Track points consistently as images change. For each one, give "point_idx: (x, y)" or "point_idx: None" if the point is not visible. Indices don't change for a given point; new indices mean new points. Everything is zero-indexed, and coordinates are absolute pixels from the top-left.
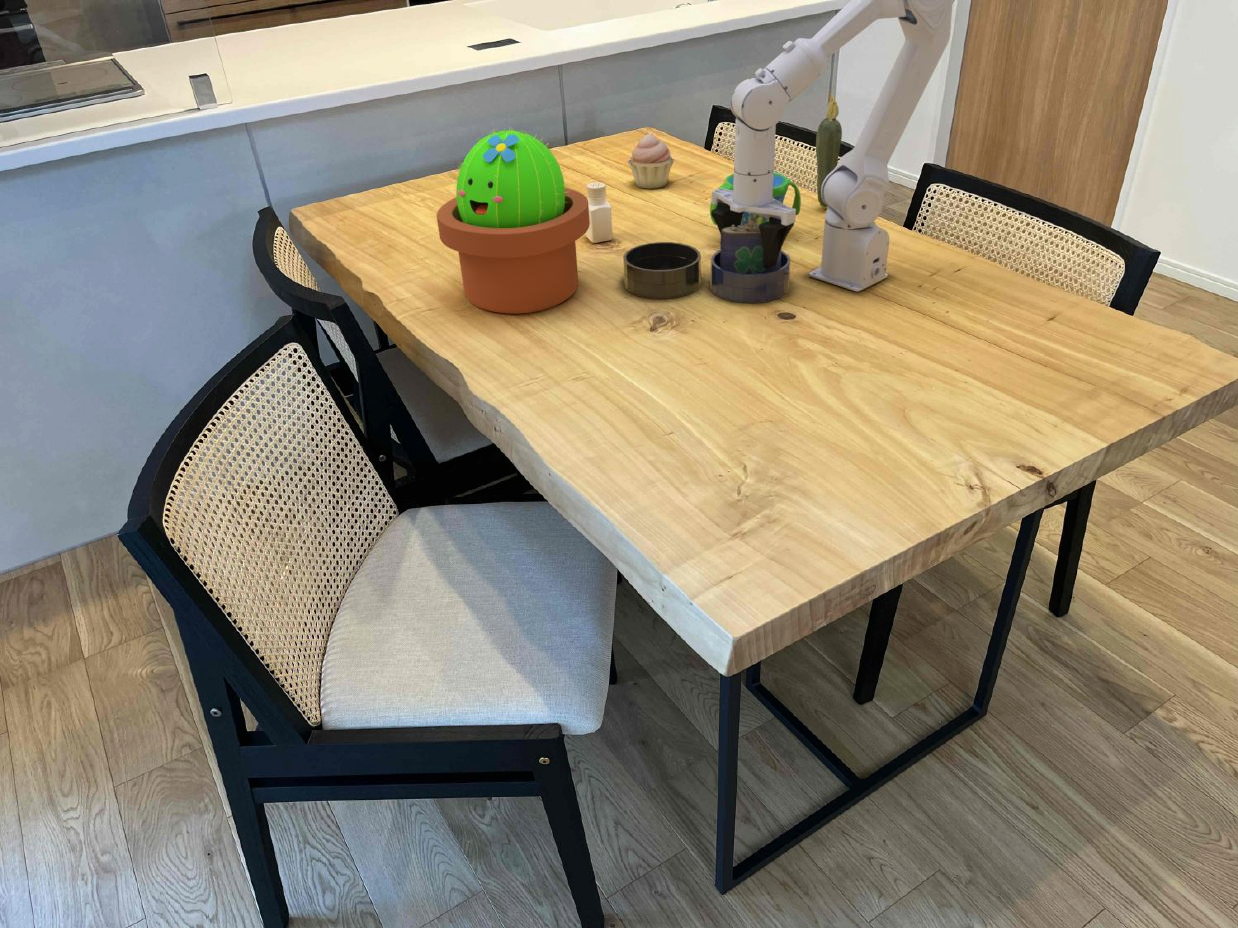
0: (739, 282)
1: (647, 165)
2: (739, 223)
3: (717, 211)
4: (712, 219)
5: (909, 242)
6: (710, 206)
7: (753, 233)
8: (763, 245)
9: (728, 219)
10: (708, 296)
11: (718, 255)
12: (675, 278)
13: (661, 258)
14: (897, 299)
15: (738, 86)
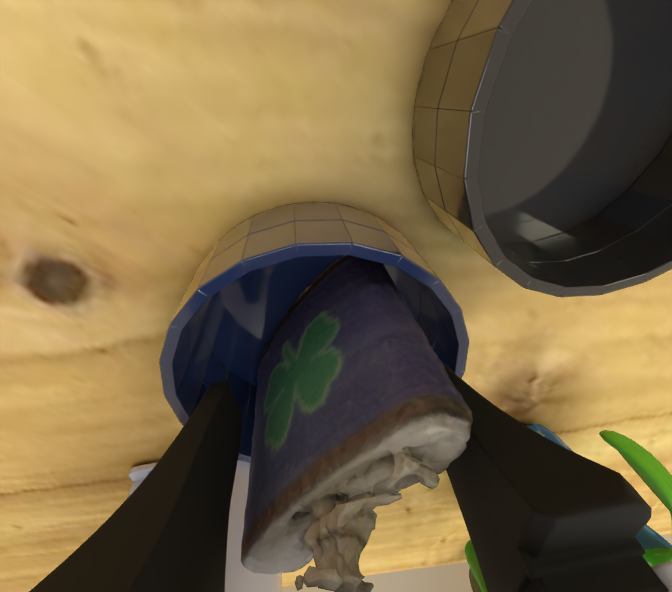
0: (221, 259)
1: None
2: (458, 497)
3: (600, 529)
4: (625, 440)
5: (289, 574)
6: (669, 474)
7: (294, 499)
8: (186, 468)
9: (494, 502)
10: (347, 176)
11: (451, 328)
12: (471, 37)
13: (658, 202)
14: (63, 497)
15: None
